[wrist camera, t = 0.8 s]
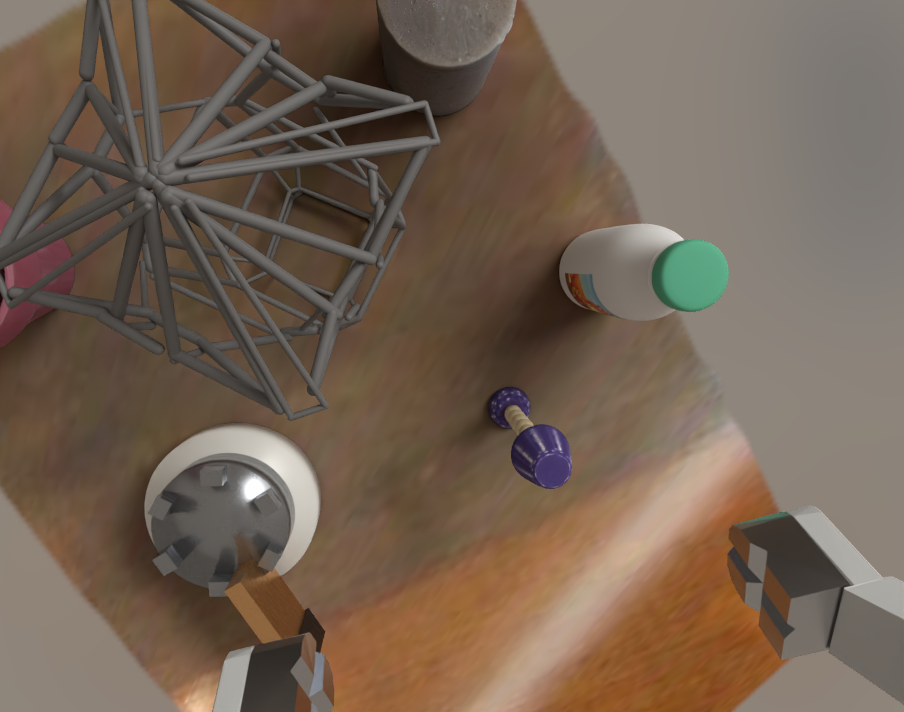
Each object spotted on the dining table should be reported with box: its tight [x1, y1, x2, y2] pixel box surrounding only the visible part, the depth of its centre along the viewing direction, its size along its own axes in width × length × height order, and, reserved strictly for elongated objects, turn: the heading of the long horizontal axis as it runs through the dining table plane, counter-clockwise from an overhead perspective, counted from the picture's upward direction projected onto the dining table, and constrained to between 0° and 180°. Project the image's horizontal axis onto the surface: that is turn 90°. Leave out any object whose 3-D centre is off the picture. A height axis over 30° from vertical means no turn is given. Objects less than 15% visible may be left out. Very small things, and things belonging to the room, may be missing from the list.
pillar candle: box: [376, 0, 516, 116], centre depth 44 cm, size 10×10×15 cm
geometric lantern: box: [0, 0, 440, 421], centre depth 36 cm, size 16×16×35 cm
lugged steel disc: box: [147, 453, 325, 653], centre depth 51 cm, size 21×12×7 cm, turn 30°
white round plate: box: [144, 422, 322, 576], centre depth 55 cm, size 16×16×3 cm
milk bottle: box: [559, 224, 729, 321], centre depth 46 cm, size 8×8×20 cm
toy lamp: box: [489, 387, 572, 489], centre depth 49 cm, size 5×5×17 cm
